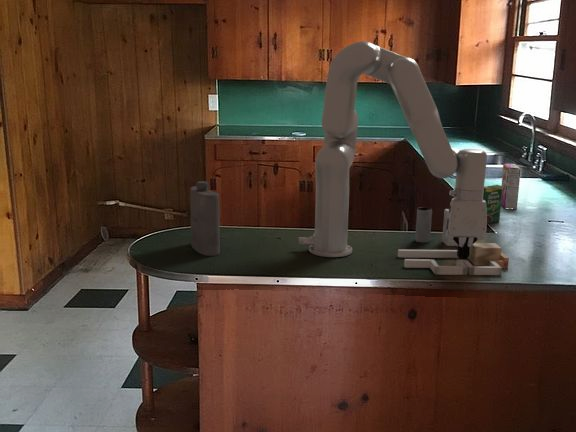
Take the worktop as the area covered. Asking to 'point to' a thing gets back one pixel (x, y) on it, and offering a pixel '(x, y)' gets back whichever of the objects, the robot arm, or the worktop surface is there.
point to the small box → (444, 239)
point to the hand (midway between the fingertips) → (462, 259)
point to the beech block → (484, 253)
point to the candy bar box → (510, 185)
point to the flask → (204, 219)
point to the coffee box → (493, 202)
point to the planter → (423, 224)
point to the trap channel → (459, 269)
